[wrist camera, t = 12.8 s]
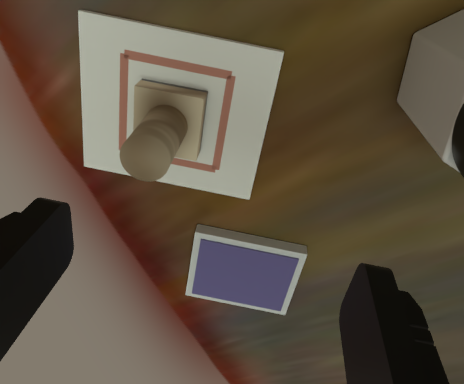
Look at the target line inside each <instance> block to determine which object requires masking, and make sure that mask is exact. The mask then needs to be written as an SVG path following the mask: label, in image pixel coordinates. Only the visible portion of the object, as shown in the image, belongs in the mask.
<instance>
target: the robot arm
mask: <svg viewBox="0 0 464 384" xmlns="http://www.w3.org/2000/svg"><path fill="white" fill-rule="evenodd" d="M73 244H74V243H73V233H72V221H71V212H70V206H69V204H68V203H65V202H60V201H55V200H50V199H45V198H37V199H35V200H34V201H33V202H32V203H31V204H30V205H29V206H28V207H27V208H26V209H25V210H24V211H22V212H21V213H19V212H13V213H11V214H9V215H7V216H5V217H3V218H1V219H0V361H1V359H2V358H3V357H4V355H5V354H6V353H7V351H8V350H9V348H10V347H11V345H12V344H13V343H14V342H15V340H16V339H17V337H18V336H19V335H20V333H21V332H22V330H23V329H24V328H25V326H26V325H27V323H28V322H29V321H30V319H31V318H32V316H33V315H34V314H35V312H36V311H37V309H38V308H39V307H40V305H41V304H42V302H43V301H44V300H45V298H46V297H47V295H48V294H49V293H50V291H51V290H52V288H53V287H54V286H55V284H56V283H57V281H58V280H59V279H60V277H61V276H62V274H63V273H64V271H65V270H66V269H67V267H68V266H69V264H70V261H71V259H72V255H73V250H74V245H73ZM339 325H340V333H341V340H342V348H343V356H344V363H345V371H346V379H347V384H449V382H448V379H447V376H446V374H445V371H444V368H443V365H442V363H441V360H440V357H439V355H438V352H437V349H436V346H434V341H433V338H432V336H431V333H430V331H428V325H427V322H426V319H425V317H424V314H423V311H422V309H421V308H420V306H419V305H418V304H417V303H416V301H415V300H414V299H413V298H412V296H411V295H410V294H409V293H408V292H405V291H400V290H398V287H397V284H396V281H395V278H394V275H393V272H392V270H391V269H389V268H384V267H379V266H374V265H369V264H364V263H361V264H359V266H358V267H357V269H356V272H355V274H354V276H353V278H352V281H351V283H350V285H349V288H348V290H347V292H346V295H345V297H344V299H343V302H342V305H341V309H340V316H339Z"/></svg>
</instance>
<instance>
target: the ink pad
mask: <svg viewBox="0 0 464 384" xmlns="http://www.w3.org/2000/svg"><path fill="white" fill-rule="evenodd" d="M306 257H307V246H305V245H300V244H295V243H290V242H285V241H280V240H275V239H270V238H265V237H260V236H255V235H250V234H245V233H240V232H236V231H231V230H226V229H221V228H216V227H211V226H206V225H201V224H197V227H196V231H195V236H194V242H193V249H192V255H191V262H190V268H189V275H188V281H187V288H186V294H185V295H188V296H193V297H198V298H203V299H208V300H213V301H218V302H223V303H228V304H233V305H238V306H243V307H247V308H252V309H257V310H262V311H267V312H272V313H277V314H282V315H285V314H286V311H287V309H288V306H289V303H290V300H291V298H292V295H293V292H294V290H295V287H296V284H297V281H298V279H299V276H300V273H301V271H302V268H303V265H304V262H305V260H306Z"/></svg>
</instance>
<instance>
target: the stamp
mask: <svg viewBox="0 0 464 384" xmlns="http://www.w3.org/2000/svg"><path fill="white" fill-rule="evenodd" d="M207 96H208V91H205V90H200V89H195V88H190V87H184V86H179V85H174V84H169V83H163V82H158V81H153V80H148V79H143V78H142V79H141V80H140V81H139V82H138V83H137V84H136V85H135V86H134V122H133V132H132V134H131V135H130V136H129V137H128V138H127V140H126V141H125V142H124V143H123V145H122V146H121V149H120V154H119V155H120V161H121V164H122V166H123V168H124V169H125V170H126V172H127V173H128V174H130V175H131V176H132V177H134V178H136V179H138V180H141V181H148V182H150V181H156V180H158V179H160V178H162V177H163V176H164V175H165V174H166V173H167V171H168V169H169V167H170V165H171V163H172V161H173V159H174V157H178V158H183V159H188V160H193V161H197V158H198V156H199V153H200V150H201V143H202V135H203V127H204V119H205V111H206V104H207Z"/></svg>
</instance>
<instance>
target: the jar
mask: <svg viewBox="0 0 464 384" xmlns="http://www.w3.org/2000/svg"><path fill="white" fill-rule="evenodd" d="M397 103H398V104H399V105H400V107H401V108H402V109H403V111H404V112H405V113H406V114H407V116H408V117H409V118H410V120H411V121H412V122H413V123H414V125H415V126H416V127H417V129H418V130H419V131H420V132H421V134H422V135H423V136H424V138H425V139H426V140H427V141H428V143H429V144H430V145H431V147H432V148H433V149H434V150H435V152H436V153H437V154H438V156H439V157H440V158H441V159H442V161H443V162H445V163H446V164H448V165H449V166H451V167H452V168H454V169H455V170H457V171H458V172H460V173H461V175H462V176H463V177H464V9H463V10H461V11H459V12H457V13H455V14H453V15H450V16H448V17H446V18H444V19H442V20H440V21H438V22H436V23H434V24H432V25H430V26H428V27H426V28H424V29H421V30H419V31H417V32H416V33H414V35H413V38H412V42H411V46H410V50H409V53H408V57H407V61H406V65H405V69H404V73H403V77H402V81H401V85H400V89H399V93H398V97H397Z"/></svg>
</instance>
